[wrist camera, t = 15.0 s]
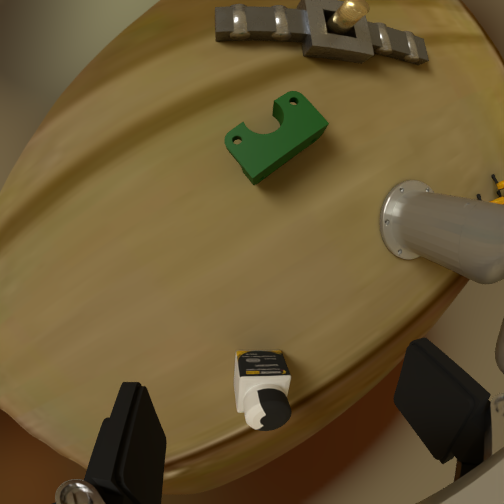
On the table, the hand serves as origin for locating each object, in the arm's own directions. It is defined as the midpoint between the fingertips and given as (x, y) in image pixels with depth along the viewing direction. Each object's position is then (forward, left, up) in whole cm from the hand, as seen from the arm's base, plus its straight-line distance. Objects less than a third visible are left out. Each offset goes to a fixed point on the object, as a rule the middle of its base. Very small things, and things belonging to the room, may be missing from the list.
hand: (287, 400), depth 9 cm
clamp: (-6, -12, -31) cm, 33 cm away
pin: (-16, -29, -30) cm, 45 cm away
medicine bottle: (-2, +22, -31) cm, 38 cm away
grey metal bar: (-16, -29, -30) cm, 45 cm away
